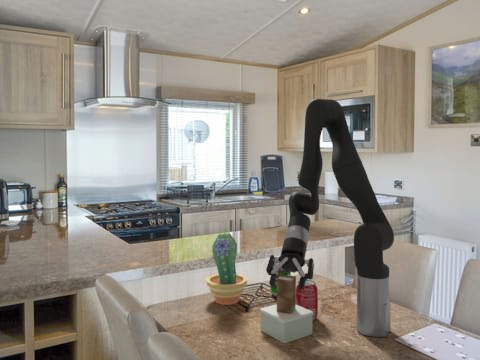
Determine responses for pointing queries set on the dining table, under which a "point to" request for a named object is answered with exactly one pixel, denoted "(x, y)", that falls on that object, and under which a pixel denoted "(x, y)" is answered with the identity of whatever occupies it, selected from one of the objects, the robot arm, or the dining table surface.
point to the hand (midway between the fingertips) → (286, 288)
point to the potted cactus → (226, 271)
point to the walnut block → (286, 294)
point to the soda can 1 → (274, 290)
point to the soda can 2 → (308, 297)
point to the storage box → (286, 323)
